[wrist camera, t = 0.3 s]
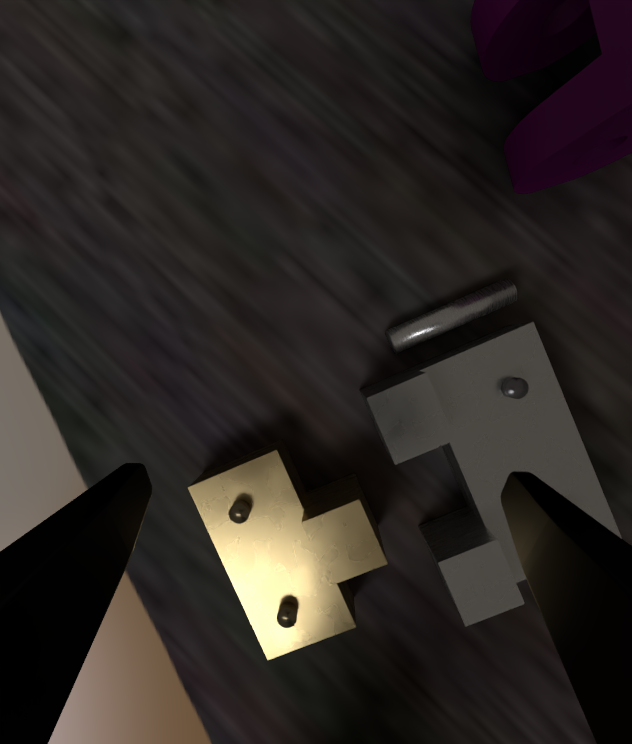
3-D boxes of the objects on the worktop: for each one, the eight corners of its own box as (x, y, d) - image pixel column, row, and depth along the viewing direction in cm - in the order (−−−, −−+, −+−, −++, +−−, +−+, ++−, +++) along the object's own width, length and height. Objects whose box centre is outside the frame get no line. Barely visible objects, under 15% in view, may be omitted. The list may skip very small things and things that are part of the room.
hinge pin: (497, 283, 22) (509, 275, 20) (508, 305, 22) (521, 298, 20) (383, 333, 22) (387, 328, 21) (393, 355, 22) (397, 352, 21)
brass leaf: (401, 579, 23) (415, 627, 19) (274, 627, 24) (262, 683, 20) (330, 418, 22) (330, 433, 18) (203, 472, 23) (176, 498, 19)
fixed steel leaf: (589, 520, 22) (647, 557, 18) (441, 578, 23) (465, 626, 19) (509, 325, 22) (550, 319, 18) (359, 390, 22) (366, 398, 18)
